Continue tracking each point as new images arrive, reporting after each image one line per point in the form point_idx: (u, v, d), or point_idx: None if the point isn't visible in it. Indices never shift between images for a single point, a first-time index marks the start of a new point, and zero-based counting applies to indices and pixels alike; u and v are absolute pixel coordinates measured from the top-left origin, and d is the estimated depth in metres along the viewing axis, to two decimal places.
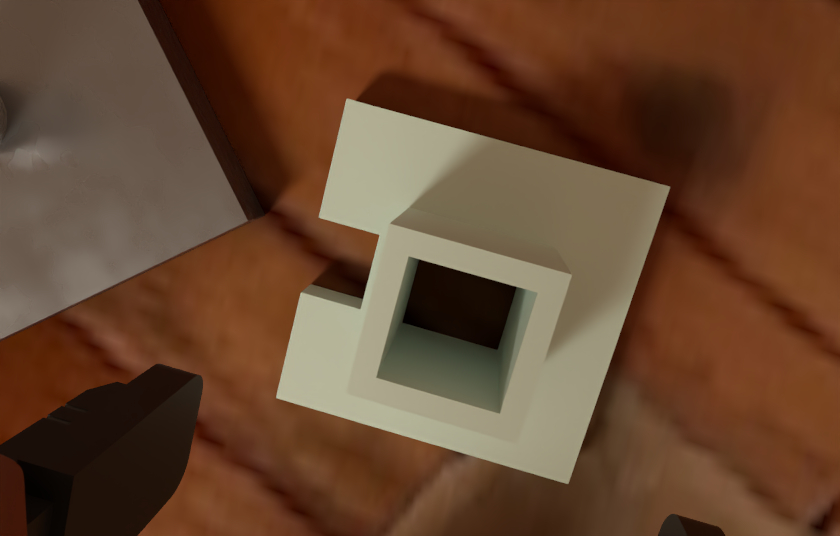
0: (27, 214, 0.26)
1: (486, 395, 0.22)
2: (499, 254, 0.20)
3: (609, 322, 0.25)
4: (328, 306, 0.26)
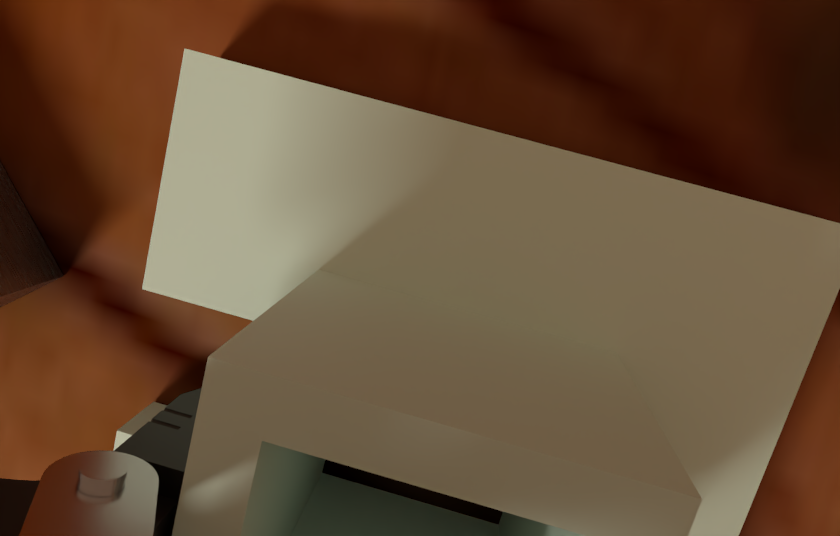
0: None
1: None
2: (502, 439, 0.07)
3: (723, 499, 0.12)
4: None
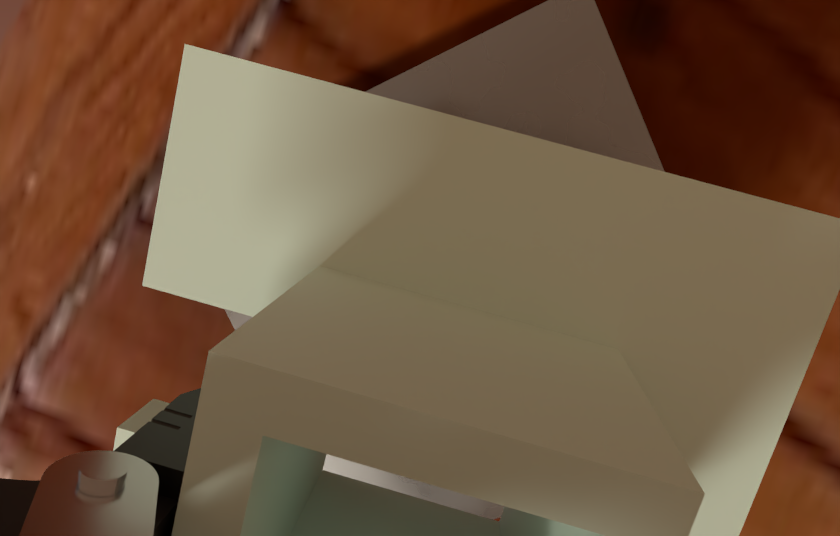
0: None
1: None
2: (504, 434, 0.07)
3: (725, 495, 0.12)
4: None
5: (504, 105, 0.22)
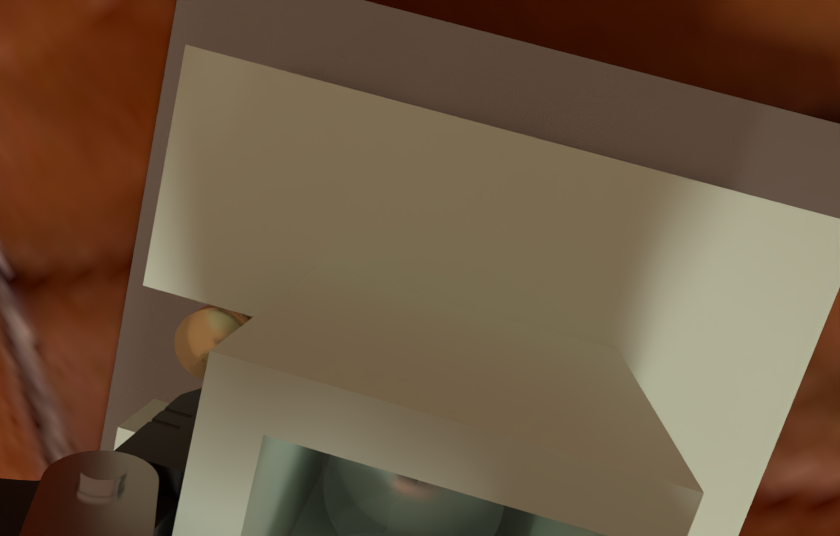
0: None
1: None
2: (504, 433, 0.07)
3: (724, 495, 0.12)
4: None
5: None
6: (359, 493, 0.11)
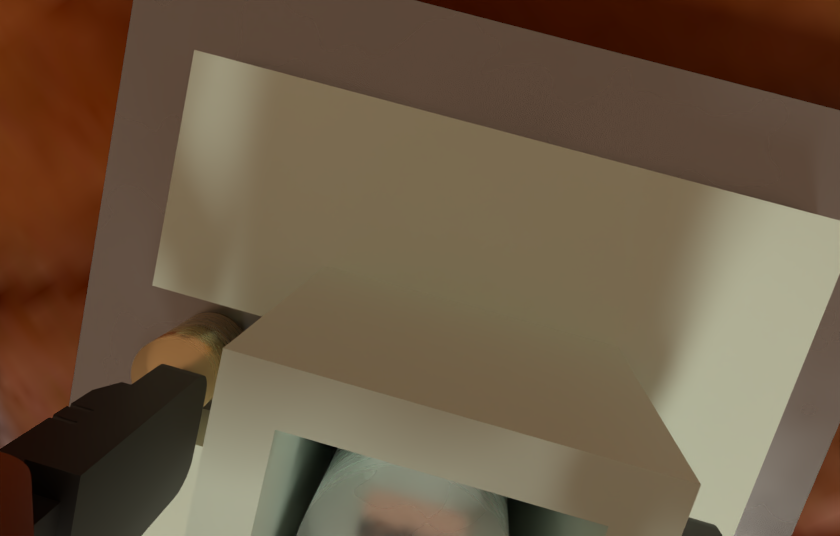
0: None
1: None
2: (508, 427, 0.08)
3: (723, 490, 0.13)
4: None
5: None
6: None
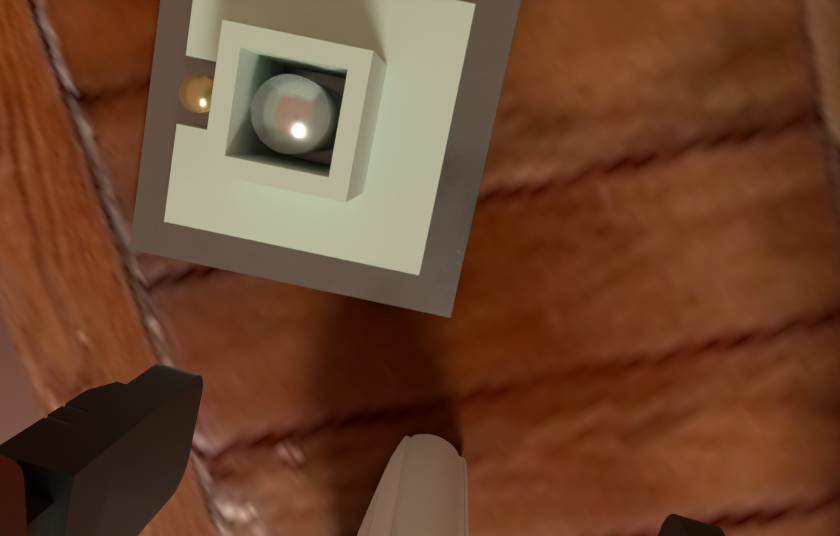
0: None
1: (323, 173, 0.27)
2: (314, 39, 0.25)
3: (438, 127, 0.30)
4: (201, 134, 0.30)
5: None
6: (266, 116, 0.26)
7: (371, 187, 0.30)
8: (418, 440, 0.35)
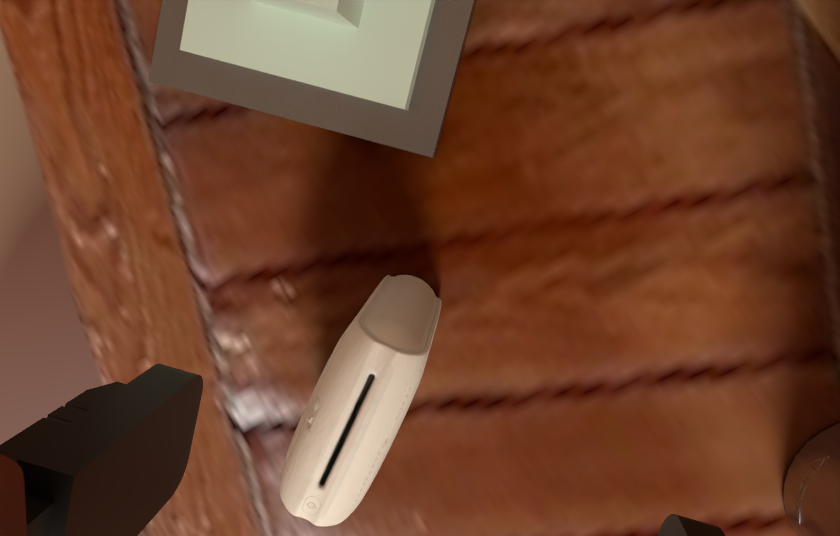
0: None
1: None
2: None
3: None
4: None
5: None
6: None
7: (365, 24, 0.34)
8: (399, 277, 0.39)
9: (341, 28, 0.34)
